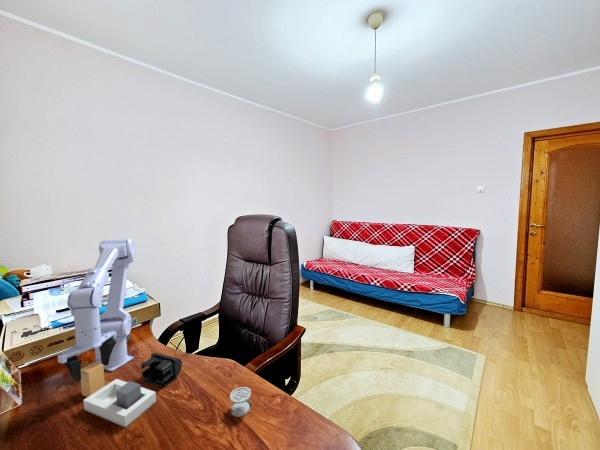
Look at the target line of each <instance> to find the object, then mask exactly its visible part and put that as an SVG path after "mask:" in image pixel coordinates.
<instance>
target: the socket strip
mask: <svg viewBox="0 0 600 450" xmlns="http://www.w3.org/2000/svg"><path fill="white" fill-rule="evenodd" d="M155 403H157V393H156V391H154V390H151V389H148V388H145V387H142V385H141V384H140V383H138V382H134V381H131V380H129V381H124V380H121V379H118V378H115V379H114V380H112V381H110V382H109V383H107V384H105V386H104V387H103V388H101V389H100V390H98V391H97V392H95V393H94V394H92V395H90V396H89V397H86V398H84V399H83V410H84V411H85V412H88V413H90V414H92V415H94V416H97V417H99V418H102V419H104V420H107V421H109V422H111V423H114V424H115V425H116V424H117V425H119V426H121V427H123V428H127V427H129V425H131V424H132V423H133V422H134V421H136V419H138V418H139V417H140V416H141V415H142V414H143V413H145V412H146V411H147V410H148V409H150V407H152V406H153V405H154V404H155Z"/></svg>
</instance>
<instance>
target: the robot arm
mask: <svg viewBox="0 0 600 450" xmlns="http://www.w3.org/2000/svg"><path fill="white" fill-rule="evenodd" d="M98 252H99V257H98V259H97V261H96V264H95V266H94V267H93V268H90V269H88V271H87V273H86V274H85V276H84V278H83V279H82V281H81V283H80V284H79V286H78V287H77V288H75V289H74V290H72V291H70V293H69V294H68V296H67V297H68V298H67V302H66V305H67V307H68V309H69V310H70V315H71V316H72V317H73V322H74V333H75V341H76V342H75V343H76V344H75V345H73V346H72V347H70V348H69V349H67V350H65V351H63V352H62V353H60V354H58V355H57V363H59V364H62V365H63V366H65V367H66V368H67V370H68V371H69V373H70V374H71V376H72V379H73V381H74V382H78V383H79V382H81V368H82V367H81V366H82V362H83V359H80V358H79V357H78V356H79V355H81V354H83V353H85V352H87V351H89V350H92V349H94V353H95V354H94V356H95V362H98V363H101V364H103V368H104V370H105V371H109V372H113V371H115V370H117V369H118V368H120V367H122V366H123V365H125V364H126V363H128V362H131V361H132V360H134V358H135V357H134V356H131V355H128V347H127V346H128V345H127V341H126V337H127V336H128V335H129V333H130V334H131V331H132V328H131V318H132V316H131V314H130V312H128V311H126V310H124V305H125V304H124V303H125V296H126V288H127V279H128V273H129V266H130V264H131V263H133V262H134V259H135V254H136V253H135V252H136V244H135V241H134V239H133V238H132V237H131V238H121V239H120V238H119V239H116V238H115V239H106V238H105V239H102V240H101V241H100V242H99V245H98ZM111 267H112V270H111V275H110V273H109V272H108V271H109V270H110V268H111ZM109 275H110V276H111V277H110V276H109ZM109 277H110V283H109V289H108V296H107V302H106V303H107V304H106V309H105V310H104V312H101V314H100V305H101V303H102V302H103V294H104V288H105V285H106V284H107V282H108V279H109ZM117 318H122V319H117ZM114 319H117V320H114Z"/></svg>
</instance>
